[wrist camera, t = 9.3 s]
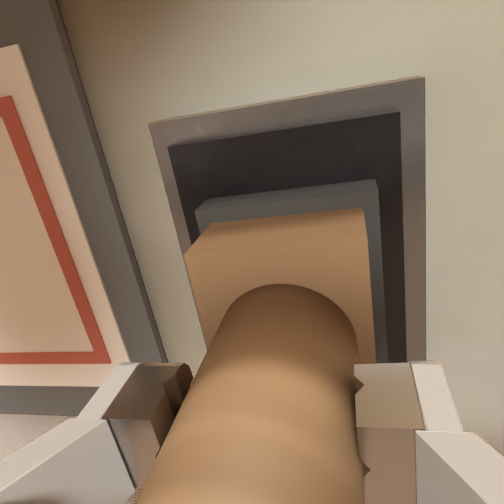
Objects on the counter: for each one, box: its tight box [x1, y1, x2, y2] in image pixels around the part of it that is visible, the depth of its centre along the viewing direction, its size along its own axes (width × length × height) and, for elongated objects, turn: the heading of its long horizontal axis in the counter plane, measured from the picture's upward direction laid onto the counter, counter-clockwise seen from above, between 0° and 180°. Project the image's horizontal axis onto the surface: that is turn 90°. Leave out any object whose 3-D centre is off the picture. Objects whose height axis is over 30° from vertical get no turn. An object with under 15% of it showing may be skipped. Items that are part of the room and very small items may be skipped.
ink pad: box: [149, 76, 426, 362], centre depth 14 cm, size 10×8×2 cm
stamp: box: [135, 179, 388, 504], centre depth 9 cm, size 6×5×9 cm
